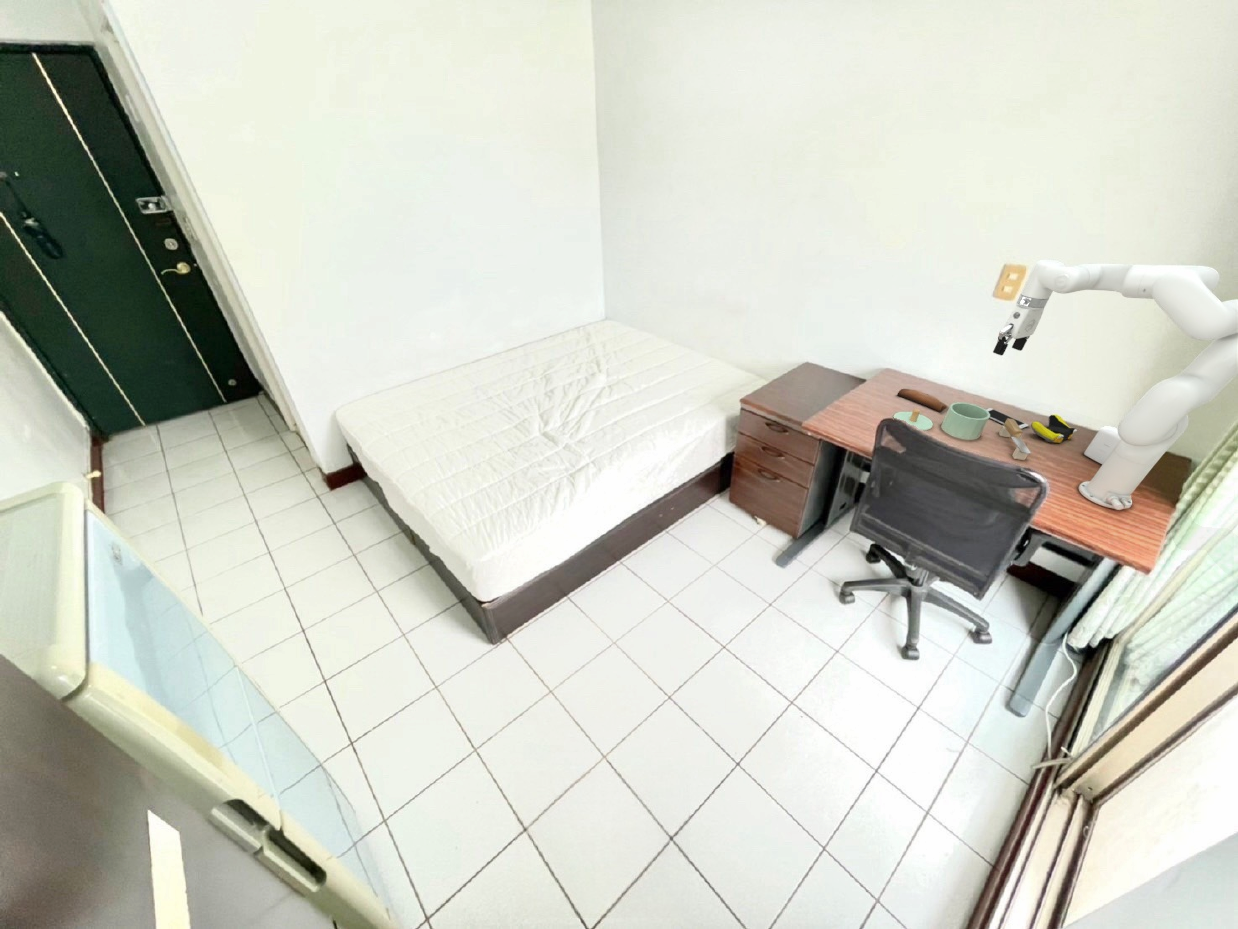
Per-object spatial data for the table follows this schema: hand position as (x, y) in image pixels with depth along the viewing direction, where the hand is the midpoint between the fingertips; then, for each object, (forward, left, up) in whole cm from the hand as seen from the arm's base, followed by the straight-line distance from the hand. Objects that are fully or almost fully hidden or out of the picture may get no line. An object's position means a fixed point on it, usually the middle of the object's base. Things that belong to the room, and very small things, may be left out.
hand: (1007, 351), depth 166 cm
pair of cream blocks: (-10, -11, -31) cm, 34 cm away
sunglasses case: (+17, +13, -31) cm, 38 cm away
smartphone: (+10, -14, -31) cm, 35 cm away
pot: (-4, +4, -31) cm, 31 cm away
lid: (-2, +20, -30) cm, 36 cm away
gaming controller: (+2, -27, -31) cm, 41 cm away
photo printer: (-12, -37, -31) cm, 49 cm away
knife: (-10, -11, -27) cm, 31 cm away
